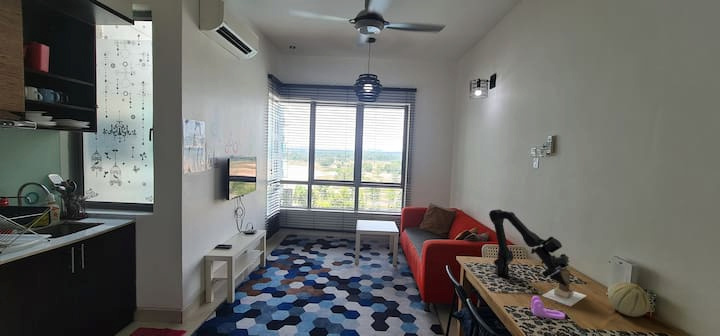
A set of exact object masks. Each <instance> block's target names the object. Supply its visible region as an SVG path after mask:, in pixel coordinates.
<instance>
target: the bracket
mask: <svg viewBox="0 0 720 336" xmlns="http://www.w3.org/2000/svg"><path fill="white" fill-rule="evenodd" d="M544 305H545V304H544V302H543V301H542V299H541V297H539V296H538V295H533V296H532V297H531V305H530V309H531V312H532V314H533V316H537V317H544V318H548V319H557V320H565V319H566V315H565V313H563V312H562V311H559V310H557V309H548V308H545V306H544Z"/></svg>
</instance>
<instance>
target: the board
mask: <svg viewBox="0 0 720 336" xmlns="http://www.w3.org/2000/svg"><path fill="white" fill-rule="evenodd" d="M557 287H559V285H558V286H556V287H555V288H557ZM555 288H553V289H551V290H549V291H547V292H545V293H544V294H542V295H541V296H542V297H545V298H546V299H550V300H553V301H554V302H555V301H556V302H558V303H560V304H563V305H566V306H569V307H572V306H573V305H575V304H576V303H578V302H579V301H580V300H583V298H585V297H587V295H586V294H584V293H580V292H578V291H574V293H573V296H571V297H570V298H568V299H565V298H562V297H559V296H557V295H554V289H555Z"/></svg>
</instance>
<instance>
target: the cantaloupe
mask: <svg viewBox="0 0 720 336" xmlns="http://www.w3.org/2000/svg"><path fill="white" fill-rule="evenodd" d="M607 293H608V294H607V295H608V296H607V297H608V301H609V303H610V304H611V306H612V307H613V308H614V309H615V310H616V311H618V312H619V313H620V314H623V315H625V316H628V317H633V318H638V317H642V316H644V315H646V313H648V311H649V309H650V306H651V300H650V297H649V295H648V293H647V292H646V291H645V290H644V289H643V288H642V287H640V285H638V284H634V283H631V282H629V281H627V282H625V281H623V282H617V283H614V284H613V285H611V287H610V288H609V290H608V292H607Z"/></svg>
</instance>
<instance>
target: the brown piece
mask: <svg viewBox="0 0 720 336" xmlns="http://www.w3.org/2000/svg"><path fill="white" fill-rule="evenodd" d="M570 274H571V272H570V270H569V269H568V268H567V269H560V275H561V277H562V278H563V280H564V281H565V283H566V284H567V286H564V285H562V284H561V283H559V282H558V286H559V287H558V286H556V287H557V288H556V287H555V288H553V289H554V295H557V296H559V297H562V298H565V299H568V298H570V297H571V296H573V293H574V289H573V288H570V284H569V281H570V282H571V279H570V277H571V275H570Z"/></svg>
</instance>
